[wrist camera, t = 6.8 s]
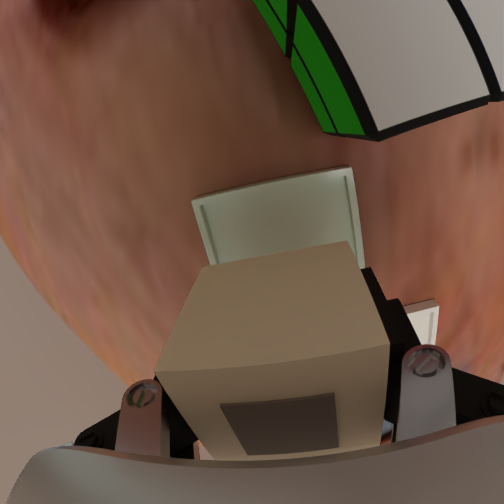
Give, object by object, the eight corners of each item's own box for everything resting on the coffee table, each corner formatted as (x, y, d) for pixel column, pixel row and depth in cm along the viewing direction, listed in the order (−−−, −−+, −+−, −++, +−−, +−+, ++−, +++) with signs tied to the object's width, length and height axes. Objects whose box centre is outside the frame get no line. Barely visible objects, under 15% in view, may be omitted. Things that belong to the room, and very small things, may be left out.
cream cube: (202, 266, 11) (152, 373, 6) (347, 240, 10) (391, 346, 5) (239, 368, 13) (222, 471, 8) (356, 351, 12) (378, 457, 7)
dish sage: (195, 197, 19) (191, 200, 18) (348, 165, 17) (351, 167, 16) (234, 323, 22) (232, 331, 21) (364, 301, 21) (367, 309, 20)
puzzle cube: (458, 90, 14) (568, 84, 5) (324, 137, 17) (372, 148, 8) (389, -39, 11) (446, -117, 2) (249, -3, 14) (218, -99, 5)
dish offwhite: (312, 324, 22) (313, 333, 21) (434, 298, 20) (439, 305, 19) (324, 405, 25) (325, 413, 24) (423, 383, 23) (426, 391, 22)
